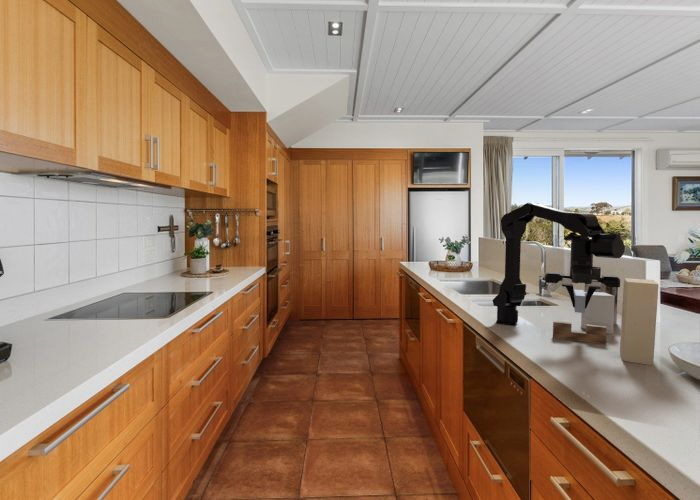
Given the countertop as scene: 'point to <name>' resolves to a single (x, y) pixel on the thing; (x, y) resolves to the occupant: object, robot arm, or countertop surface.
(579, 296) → the pale blue pillar
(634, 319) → the beige tall block
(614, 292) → the coffee box
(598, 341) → the walnut block
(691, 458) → the countertop surface
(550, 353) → the countertop surface
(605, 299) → the supplement box
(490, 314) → the countertop surface
